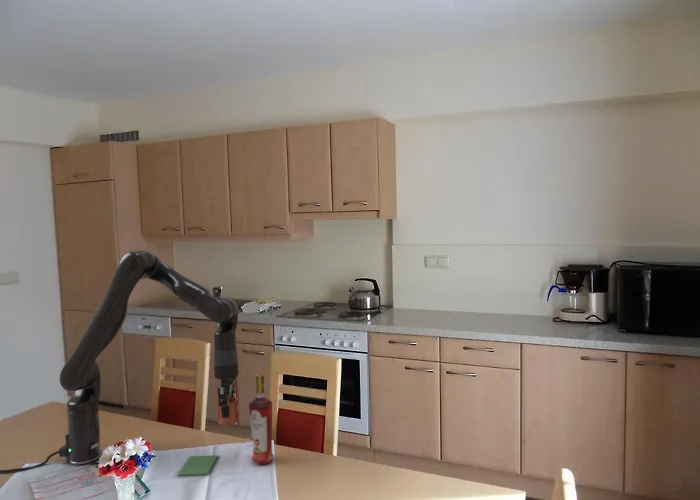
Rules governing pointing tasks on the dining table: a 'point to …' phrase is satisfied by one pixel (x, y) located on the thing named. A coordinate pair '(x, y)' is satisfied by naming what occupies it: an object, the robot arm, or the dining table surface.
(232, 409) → the flower pot
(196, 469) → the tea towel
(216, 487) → the dining table surface
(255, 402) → the liquor
